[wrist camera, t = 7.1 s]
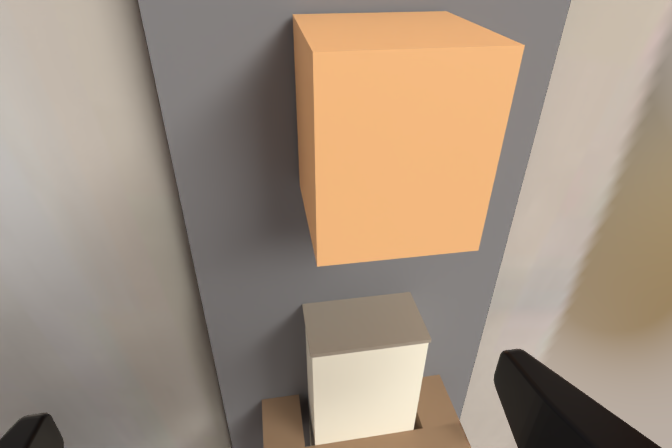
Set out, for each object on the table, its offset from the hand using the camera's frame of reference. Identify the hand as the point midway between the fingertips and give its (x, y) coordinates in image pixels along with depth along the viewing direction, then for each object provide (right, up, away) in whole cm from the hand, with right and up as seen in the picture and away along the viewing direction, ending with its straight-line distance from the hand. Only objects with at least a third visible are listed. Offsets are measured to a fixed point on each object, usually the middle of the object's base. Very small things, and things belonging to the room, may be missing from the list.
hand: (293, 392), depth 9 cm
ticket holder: (+2, +1, +13) cm, 13 cm away
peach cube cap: (+2, +8, +7) cm, 10 cm away
